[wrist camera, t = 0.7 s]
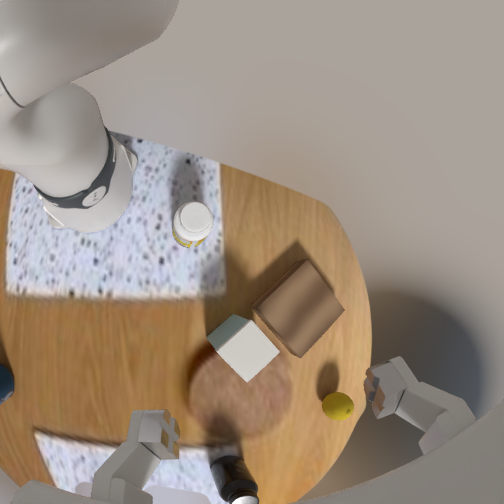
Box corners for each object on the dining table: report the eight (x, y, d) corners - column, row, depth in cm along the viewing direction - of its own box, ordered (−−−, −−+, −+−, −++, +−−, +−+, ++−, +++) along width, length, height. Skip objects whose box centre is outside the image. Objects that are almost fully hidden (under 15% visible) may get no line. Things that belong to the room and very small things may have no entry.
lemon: (321, 385, 48) (344, 398, 41) (341, 389, 50) (365, 400, 42) (311, 409, 47) (332, 425, 39) (331, 412, 48) (354, 426, 41)
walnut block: (249, 305, 46) (256, 307, 42) (297, 261, 50) (307, 259, 46) (290, 353, 47) (300, 358, 44) (332, 308, 51) (344, 310, 47)
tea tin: (205, 337, 43) (216, 351, 33) (233, 312, 45) (251, 320, 35) (229, 363, 44) (247, 382, 34) (256, 338, 45) (279, 351, 36)
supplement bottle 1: (205, 214, 45) (216, 196, 36) (206, 247, 45) (217, 237, 35) (171, 215, 44) (174, 195, 34) (172, 248, 43) (174, 238, 33)
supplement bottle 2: (225, 482, 40) (241, 519, 28) (203, 466, 39) (215, 505, 28) (251, 466, 42) (273, 500, 30) (230, 449, 41) (249, 485, 30)
